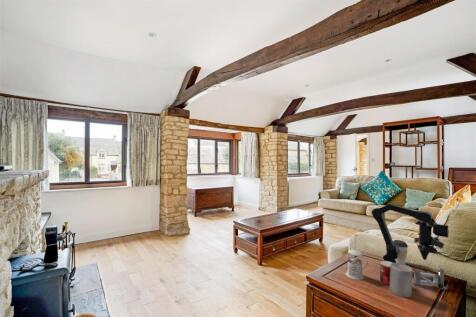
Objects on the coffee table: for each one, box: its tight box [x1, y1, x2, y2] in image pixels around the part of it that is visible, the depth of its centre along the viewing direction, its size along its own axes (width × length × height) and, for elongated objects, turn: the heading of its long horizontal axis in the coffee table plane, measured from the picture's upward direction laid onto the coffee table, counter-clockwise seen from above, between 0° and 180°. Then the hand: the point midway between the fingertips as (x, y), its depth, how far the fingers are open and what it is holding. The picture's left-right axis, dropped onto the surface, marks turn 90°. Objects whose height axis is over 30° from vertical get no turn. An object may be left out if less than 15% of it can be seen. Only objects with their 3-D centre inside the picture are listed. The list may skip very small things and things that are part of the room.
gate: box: [413, 271, 438, 287], centre depth 131 cm, size 11×1×6 cm, turn 76°
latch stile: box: [412, 269, 423, 288], centre depth 131 cm, size 4×3×8 cm
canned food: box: [379, 260, 392, 287], centre depth 133 cm, size 8×8×11 cm
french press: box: [345, 233, 369, 280], centre depth 140 cm, size 10×12×25 cm
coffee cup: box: [393, 239, 409, 265], centre depth 160 cm, size 9×9×15 cm
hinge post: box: [435, 268, 448, 291], centre depth 129 cm, size 4×4×11 cm
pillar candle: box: [389, 263, 413, 298], centre depth 123 cm, size 10×10×15 cm
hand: (424, 259), depth 138 cm, fingers closed
